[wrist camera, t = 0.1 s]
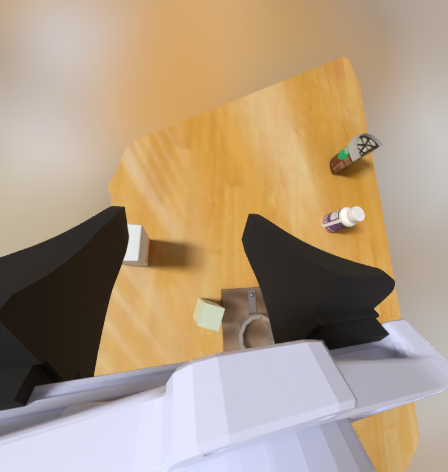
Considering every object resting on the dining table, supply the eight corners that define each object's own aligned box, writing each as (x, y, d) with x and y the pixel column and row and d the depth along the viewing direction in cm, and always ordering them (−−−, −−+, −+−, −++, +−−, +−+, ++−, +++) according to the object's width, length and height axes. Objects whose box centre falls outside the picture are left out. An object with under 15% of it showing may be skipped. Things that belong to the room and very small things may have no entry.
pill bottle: (337, 228, 56) (370, 219, 46) (325, 235, 54) (357, 227, 45) (329, 212, 56) (360, 200, 47) (317, 218, 54) (346, 207, 45)
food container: (342, 148, 64) (372, 126, 54) (352, 163, 63) (383, 144, 54) (320, 160, 60) (347, 138, 50) (330, 176, 59) (359, 157, 50)
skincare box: (148, 266, 39) (138, 262, 28) (126, 265, 38) (107, 261, 27) (151, 238, 41) (142, 224, 29) (130, 237, 39) (112, 222, 28)
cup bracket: (282, 375, 42) (292, 383, 39) (224, 387, 38) (229, 398, 35) (274, 286, 46) (282, 286, 43) (221, 289, 42) (225, 290, 39)
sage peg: (215, 302, 41) (225, 308, 34) (210, 321, 40) (218, 331, 33) (198, 297, 41) (204, 302, 33) (192, 316, 40) (197, 325, 32)
